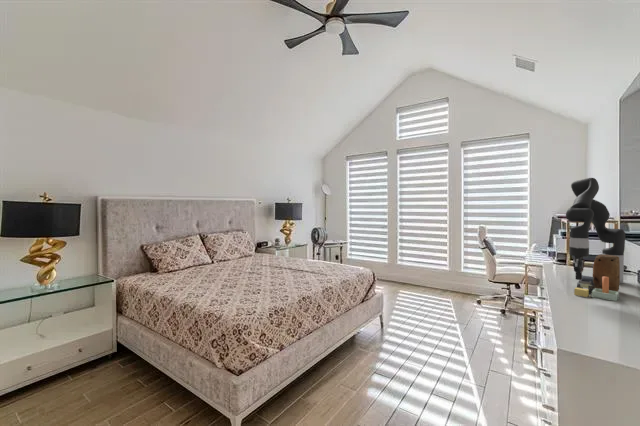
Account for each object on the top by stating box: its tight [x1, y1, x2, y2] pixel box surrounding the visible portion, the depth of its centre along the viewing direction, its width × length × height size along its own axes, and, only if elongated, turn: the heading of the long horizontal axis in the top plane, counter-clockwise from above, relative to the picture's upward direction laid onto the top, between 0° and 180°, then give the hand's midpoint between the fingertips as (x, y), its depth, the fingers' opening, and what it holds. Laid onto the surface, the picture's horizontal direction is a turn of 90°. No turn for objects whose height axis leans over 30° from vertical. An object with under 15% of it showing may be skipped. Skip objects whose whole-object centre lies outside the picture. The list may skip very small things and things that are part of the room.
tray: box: [591, 288, 620, 302], centre depth 147 cm, size 9×9×3 cm
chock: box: [573, 286, 590, 298], centre depth 150 cm, size 4×5×4 cm
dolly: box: [576, 274, 594, 294], centre depth 157 cm, size 9×6×8 cm, turn 128°
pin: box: [602, 277, 609, 294], centre depth 147 cm, size 2×2×10 cm
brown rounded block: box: [592, 254, 621, 292], centre depth 158 cm, size 11×8×20 cm
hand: (578, 279), depth 146 cm, fingers closed
